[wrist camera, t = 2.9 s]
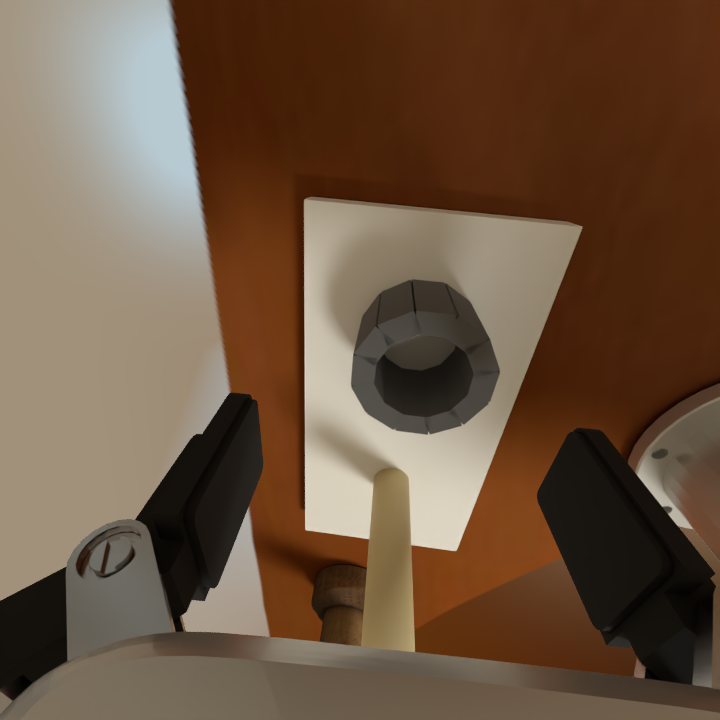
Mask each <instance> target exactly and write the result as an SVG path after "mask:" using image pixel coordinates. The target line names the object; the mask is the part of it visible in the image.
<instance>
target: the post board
mask: <svg viewBox="0 0 720 720" xmlns="http://www.w3.org/2000/svg"><path fill="white" fill-rule="evenodd" d="M582 228H583V227H582V226H579V225H576V224H573V223H570V222H567V221H556V220H546V219H536V218H526V217H515V216H505V215H495V214H485V213H474V212H464V211H454V210H444V209H434V208H423V207H413V206H403V205H393V204H382V203H372V202H362V201H352V200H341V199H331V198H321V197H309V198H306V199H304V335H305V530H309V531H316V532H323V533H330V534H337V535H344V536H352V537H359V538H366V539H369V548H368V562H367V575H366V588H365V601H364V614H363V627H362V640H361V646H362V647H372V648H381V649H391V650H400V651H409V652H415V642H414V641H415V640H414V611H413V583H412V554H411V545H416V546H423V547H430V548H437V549H444V550H451V551H457V548H458V546H459V543H460V541H461V538H462V536H463V533H464V530H465V528H466V525H467V523H468V520H469V518H470V515H471V512H472V510H473V507H474V505H475V502H476V500H477V497H478V495H479V492H480V489H481V487H482V484H483V482H484V479H485V477H486V474H487V471H488V469H489V466H490V464H491V461H492V459H493V456H494V454H495V451H496V448H497V446H498V443H499V441H500V438H501V436H502V433H503V430H504V428H505V425H506V423H507V420H508V418H509V415H510V412H511V410H512V407H513V405H514V402H515V400H516V397H517V395H518V392H519V389H520V387H521V384H522V382H523V379H524V377H525V374H526V371H527V369H528V366H529V364H530V361H531V359H532V356H533V354H534V351H535V348H536V346H537V343H538V341H539V338H540V336H541V333H542V330H543V328H544V325H545V323H546V320H547V318H548V315H549V312H550V310H551V307H552V305H553V302H554V300H555V297H556V295H557V292H558V289H559V287H560V284H561V282H562V279H563V277H564V274H565V271H566V269H567V266H568V264H569V261H570V259H571V256H572V253H573V251H574V248H575V246H576V243H577V241H578V238H579V236H580V233H581V230H582ZM413 279H416V280H425V281H435V282H444V283H445V284H448V285H449V286H450V287H452V288H453V289H454V290H456V291H457V292H458V293H460V294H461V295H462V296H464V297H465V298H466V299H468V300H469V301H470V303H471V304H472V306H473V308H474V310H475V311H476V313H477V315H478V317H479V319H480V321H481V323H482V325H483V327H484V329H485V331H486V332H487V334H488V336H489V338H490V340H491V343H492V347H493V350H494V353H495V356H496V359H497V362H498V365H499V368H500V375H499V377H498V380H497V383H496V386H495V389H494V392H493V395H492V398H491V401H490V402H488V403H489V404H488V405H487V406H486V407H484V408H483V409H482V410H481V411H480V412H479V413H477V414H476V415H475V416H474V417H473V418H471V419H470V420H469V421H468V422H467V423H466V424H462V423H461V424H462V426H460V427H456V428H452V429H449V430H445V431H441V432H438V433H434V434H431V435H430V434H429V432H428V435H425V434H417V433H410V432H402V431H395V429H394V430H393V429H391V428H389V427H388V426H386V425H384V424H383V423H381V422H379V421H378V420H376V419H374V418H373V417H371V416H370V415H368V414H367V412H365V411H364V409H363V407H362V405H361V404H360V402H359V400H358V398H357V397H356V395H355V393H354V391H353V390H352V388H351V386H352V385H351V375H352V363H353V354H354V349H355V345H356V341H357V336H358V332H359V328H360V324H361V319H362V316H363V314H364V313H365V312H366V311H367V309H368V308H369V307H370V305H371V304H372V303H373V301H374V300H375V299H376V297H377V296H378V295H379V293H382V291H384V290H387V289H389V288H391V287H394V286H396V285H398V284H401V283H403V282H406V281H408V280H411V282H412V280H413ZM454 349H455V345H454V344H453V343H452V342H450V341H449V340H447V339H446V338H441V337H432V336H423V335H416V336H414V337H411V338H408V339H405V340H403V341H400V342H397V343H395V344H392V345H391V347H390V348H389V349H388V350H387V351H386V352H385V356H386V358H387V359H389V360H390V361H392V362H393V363H395V364H396V365H398V366H399V367H401V368H404V369H412V370H420V371H422V370H425V369H428V368H431V367H434V366H437V365H440V364H441V363H442V362H443V361H444V360H445V359H446V358H447V357H448V356H449V355H450V354H451V353H452V352H453V351H454Z"/></svg>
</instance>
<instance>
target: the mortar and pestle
mask: <svg viewBox="0 0 720 720" xmlns="http://www.w3.org/2000/svg"><path fill="white" fill-rule="evenodd" d="M366 575H367V569H364V568H361V567H357V566H352V565H333V566H329V567H326V568H324V569H322V570H321V571H320V572H319V573H318V574H317V577H316V580H315V585H314V590H313V596H312V607H313V609H314V611H315V612H316V613H317V615H318V617H319V618H320V620H321V621H322V622H323V625H322V631H321V637H320V642H324V643H334V644H343V645H353V646H361V640H362V627H363V614H364V601H365V588H366Z"/></svg>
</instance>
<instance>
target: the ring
mask: <svg viewBox="0 0 720 720" xmlns="http://www.w3.org/2000/svg"><path fill="white" fill-rule="evenodd" d="M416 335H423V336H432V337H441V338H446V339H447V340H449V341H450V342H452V343H453V344H454V345H455V349H454V351H453V352H452V353H451V354H450V355H449V356H448V357H447V358H446V359H445V360H444V361H443V362H442V363H441V364H440V365H437V366H434V367H431V368H428V369H425V370H422V371H420V370H412V369H404V368H401V367H399V366H398V365H396V364H395V363H393V362H392V361H390V360H389V359H387V358H386V356H385V352H386V351H387V350H388V349H389V348H390V347H391V345H392V344H395V343H397V342H400V341H403V340H405V339H408V338H411V337H414V336H416ZM499 375H500V368H499V365H498V362H497V359H496V356H495V353H494V350H493V347H492V343H491V340H490V338H489V336H488V334H487V332H486V331H485V329H484V327H483V325H482V323H481V321H480V319H479V317H478V315H477V313H476V311H475V310H474V308H473V306H472V304H471V303H470V301H469V300H468V299H466V298H465V297H464V296H462V295H461V294H460V293H458V292H457V291H456V290H454V289H453V288H452V287H450V286H449V285H448V284H445V283H444V282H435V281H425V280H416V279H413V280H412V282H411V280H408V281H406V282H403V283H401V284H398V285H396V286H394V287H391V288H389V289H387V290H384V291H382V293H379V295H378V296H377V297H376V299H375V300H374V301H373V303H372V304H371V305H370V307H369V308H368V309H367V311H366V312H365V313H364V314H363V316H362V319H361V324H360V328H359V332H358V336H357V341H356V345H355V349H354V354H353V363H352V375H351V385H352V386H351V388H352V390H353V391H354V393H355V395H356V397H357V398H358V400H359V402H360V404H361V405H362V407H363V409H364V411H365V412H367V414H368V415H370V416H371V417H373V418H374V419H376V420H378V421H379V422H381V423H383V424H384V425H386V426H388V427H389V428H391V429H393V430H394V429H395V431H402V432H410V433H417V434H425V435H428V432H429V434H430V435H431V434H434V433H438V432H441V431H445V430H449V429H452V428H456V427H460V426H462V424H466V423H467V422H468V421H469V420H470V419H471V418H473V417H474V416H475V415H476V414H477V413H479V412H480V411H481V410H482V409H483V408H484V407H486V406H487V405H488V404H489V403H488V402H490V401H491V398H492V395H493V392H494V389H495V386H496V383H497V380H498V377H499ZM461 423H462V424H461Z"/></svg>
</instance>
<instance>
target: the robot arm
mask: <svg viewBox="0 0 720 720" xmlns="http://www.w3.org/2000/svg"><path fill="white" fill-rule="evenodd" d="M262 469H263V455H262V445H261V434H260V424H259V414H258V404H257V401H256V400H252V397H251V395H249V394H240V393H230V394H229V395H228V396H227V397H226V399H225V401H224V402H223V404H222V405H221V407H220V408H219V410H218V411H217V413H216V414H215V416H214V417H213V419H212V420H211V422H210V424H209V425H208V426H207V428H206V429H205V431H204V432H203V434H196V435H194V436H193V438H191V440H190V441H189V442H188V444H187V445H186V447H185V448H184V450H183V451H182V453H181V454H180V455H179V457H178V458H177V460H176V461H175V463H174V464H173V466H172V467H171V468H170V470H169V471H168V473H167V474H166V476H165V477H164V479H163V480H162V482H161V483H160V485H159V486H158V487H157V489H156V490H155V492H154V493H153V494H152V496H151V497H150V499H149V500H148V502H147V503H146V505H145V506H144V508H143V509H142V511H141V512H140V513H139V515H138V516H137V518H136V519H135V520H131V519H127V520H118V521H115V522H112V523H109V524H106V525H104V526H102V527H100V528H99V529H97V530H95V531H93V532H92V533H91V534H90V535H88V536H87V537H86V538H85V539H83V540H82V541H81V543H80V544H79V545H78V546H77V547H76V548H75V549H74V551H73V552H72V554H71V556H70V558H69V560H68V562H67V567H65V568H63V569H61V570H59V571H57V572H55V573H53V574H51V575H49V576H47V577H46V578H44V579H42V580H40V581H38V582H36V583H34V584H32V585H30V586H28V587H26V588H24V589H22V590H20V591H18V592H17V593H15V594H13V595H11V596H9V597H7V598H5V599H3V600H1V601H0V720H720V585H718V586H715V584H714V583H713V582H712V580H711V579H710V578H711V577H712V576H713V575H714V574H715V573H714V571H713V570H712V569H711V567H710V566H709V565H708V564H707V562H706V561H705V560H704V559H703V557H702V556H701V555H700V554H699V552H698V551H697V550H696V549H695V547H694V546H693V545H692V544H691V542H690V541H689V540H688V539H687V537H686V536H685V535H684V533H683V532H682V531H681V530H680V528H679V527H678V526H681V527H684V528H691V529H694V530H695V532H696V533H697V534H698V535H699V537H700V538H701V539H702V540H703V541H704V543H705V544H706V545H707V546H708V548H709V549H710V550H711V551H712V553H713V554H714V555H715V556H716V558H717V559H718V560H719V561H720V383H719V384H716V385H714V386H711V387H709V388H707V389H704V390H702V391H700V392H698V393H696V394H694V395H692V396H691V397H689V398H687V399H685V400H683V401H681V402H680V403H678V404H677V405H675V406H674V407H672V408H671V409H670V410H668V411H667V412H666V413H664V414H663V415H661V416H660V417H659V418H658V419H657V420H656V421H655V422H654V423H653V424H652V425H651V426H650V427H649V428H648V429H646V431H645V432H644V433H643V435H642V436H641V437H640V439H639V440H638V441H637V443H636V444H635V446H634V448H633V450H632V452H631V454H630V457H629V459H628V463H627V462H626V461H625V459H624V458H623V457H622V456H621V454H620V453H619V452H618V451H617V449H616V448H615V447H614V446H613V444H612V443H611V442H610V440H609V439H608V438H607V437H606V435H605V434H604V433H603V432H602V431H600V430H594V429H584V428H577V429H575V430H574V432H571V433H569V434H568V435H567V437H566V439H565V441H564V443H563V445H562V447H561V448H560V450H559V452H558V454H557V456H556V458H555V460H554V462H553V464H552V465H551V467H550V469H549V471H548V473H547V475H546V477H545V479H544V480H543V482H542V484H541V486H540V488H539V490H538V493H537V499H538V503H539V505H540V508H541V510H542V512H543V514H544V517H545V519H546V521H547V523H548V526H549V528H550V530H551V532H552V535H553V537H554V539H555V541H556V544H557V546H558V548H559V550H560V553H561V555H562V557H563V559H564V562H565V564H566V566H567V568H568V571H569V573H570V575H571V577H572V580H573V582H574V584H575V586H576V588H577V591H578V593H579V595H580V597H581V600H582V602H583V604H584V606H585V609H586V611H587V613H588V615H589V618H590V620H591V622H592V624H593V625H594V626H595V628H596V629H598V630H600V632H601V634H602V636H603V638H604V640H605V643H606V645H609V646H617V647H626V648H629V647H630V646H632V648H633V650H634V651H635V654H636V655H637V661H636V667H635V672H634V677H629V676H620V675H612V674H602V673H594V672H585V671H577V670H569V669H560V668H552V667H543V666H534V665H525V664H517V663H508V662H499V661H490V660H481V659H472V658H463V657H454V656H445V655H436V654H427V653H418V652H409V651H400V650H391V649H381V648H372V647H362V646H353V645H343V644H334V643H324V642H315V641H305V640H296V639H286V638H275V637H263V636H251V635H239V634H227V633H211V632H186V630H185V627H184V623H183V619H182V615H183V614H184V613H186V611H187V609H188V607H189V605H190V602H191V600H199V601H205V599H206V596H207V594H208V591H209V589H210V588H215V587H216V586H217V585H218V583H219V581H220V578H221V576H222V573H223V571H224V568H225V565H226V563H227V560H228V558H229V555H230V553H231V550H232V547H233V545H234V542H235V540H236V537H237V535H238V532H239V530H240V527H241V524H242V522H243V519H244V517H245V514H246V512H247V509H248V507H249V504H250V501H251V499H252V496H253V494H254V491H255V489H256V486H257V484H258V481H259V478H260V476H261V473H262Z"/></svg>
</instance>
